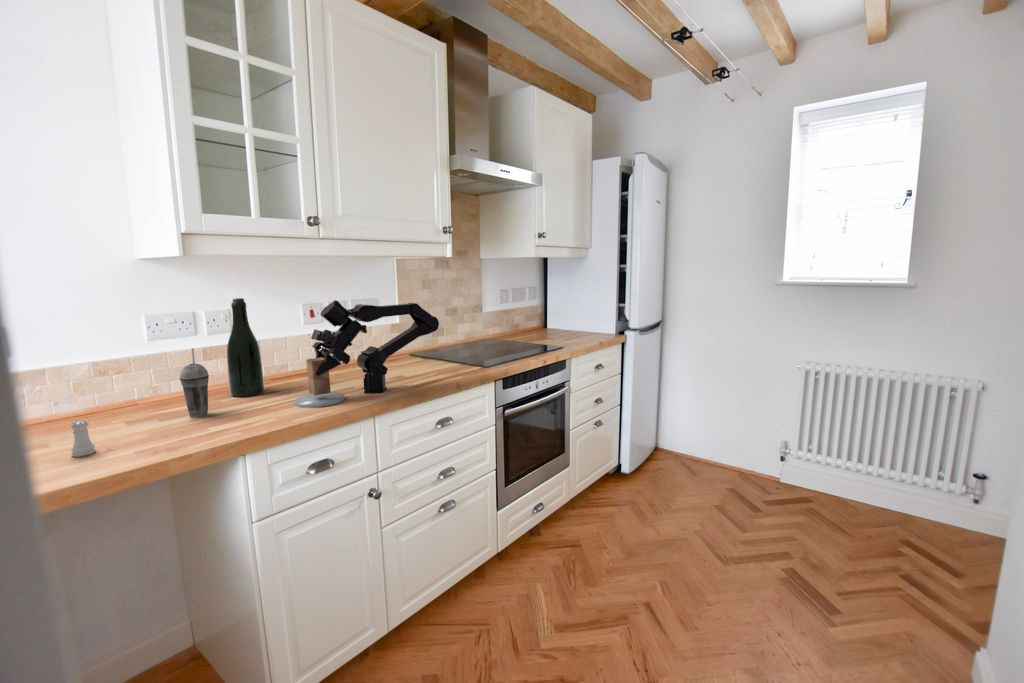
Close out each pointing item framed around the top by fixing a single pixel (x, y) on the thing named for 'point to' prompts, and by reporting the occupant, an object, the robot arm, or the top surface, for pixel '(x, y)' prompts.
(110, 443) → the top surface
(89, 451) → the rook chess piece
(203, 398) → the beverage cup
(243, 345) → the beer bottle
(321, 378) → the walnut block
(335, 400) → the slate dish
